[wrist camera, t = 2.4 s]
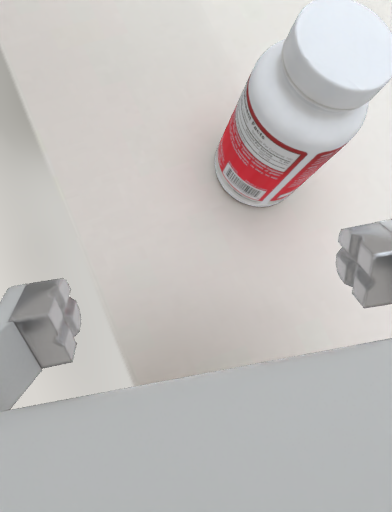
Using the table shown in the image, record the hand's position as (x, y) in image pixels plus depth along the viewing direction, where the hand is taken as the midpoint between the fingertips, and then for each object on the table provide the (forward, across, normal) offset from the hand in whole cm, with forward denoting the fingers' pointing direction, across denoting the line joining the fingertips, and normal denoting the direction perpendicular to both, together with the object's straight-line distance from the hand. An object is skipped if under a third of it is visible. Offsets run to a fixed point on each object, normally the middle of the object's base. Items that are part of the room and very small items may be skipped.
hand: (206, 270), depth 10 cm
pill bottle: (+15, -5, +3) cm, 16 cm away
